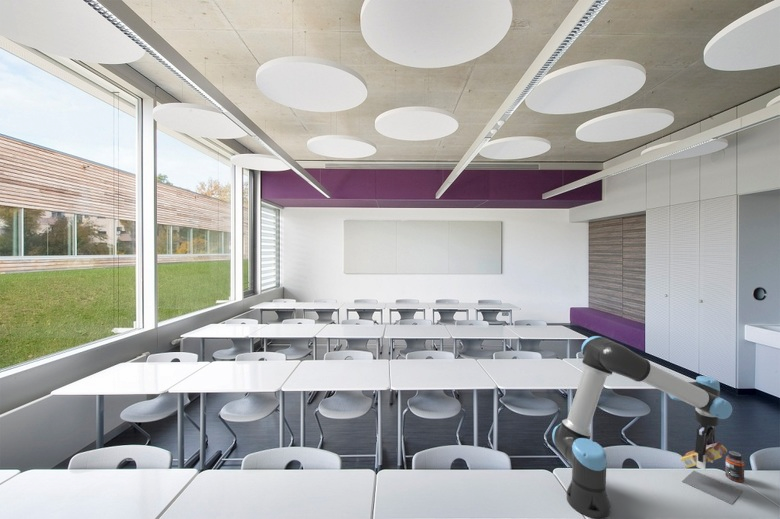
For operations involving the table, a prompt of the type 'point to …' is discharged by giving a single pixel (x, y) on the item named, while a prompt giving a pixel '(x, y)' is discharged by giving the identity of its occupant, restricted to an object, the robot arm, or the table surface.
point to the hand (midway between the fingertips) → (704, 464)
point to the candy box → (711, 454)
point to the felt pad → (712, 487)
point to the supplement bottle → (734, 467)
